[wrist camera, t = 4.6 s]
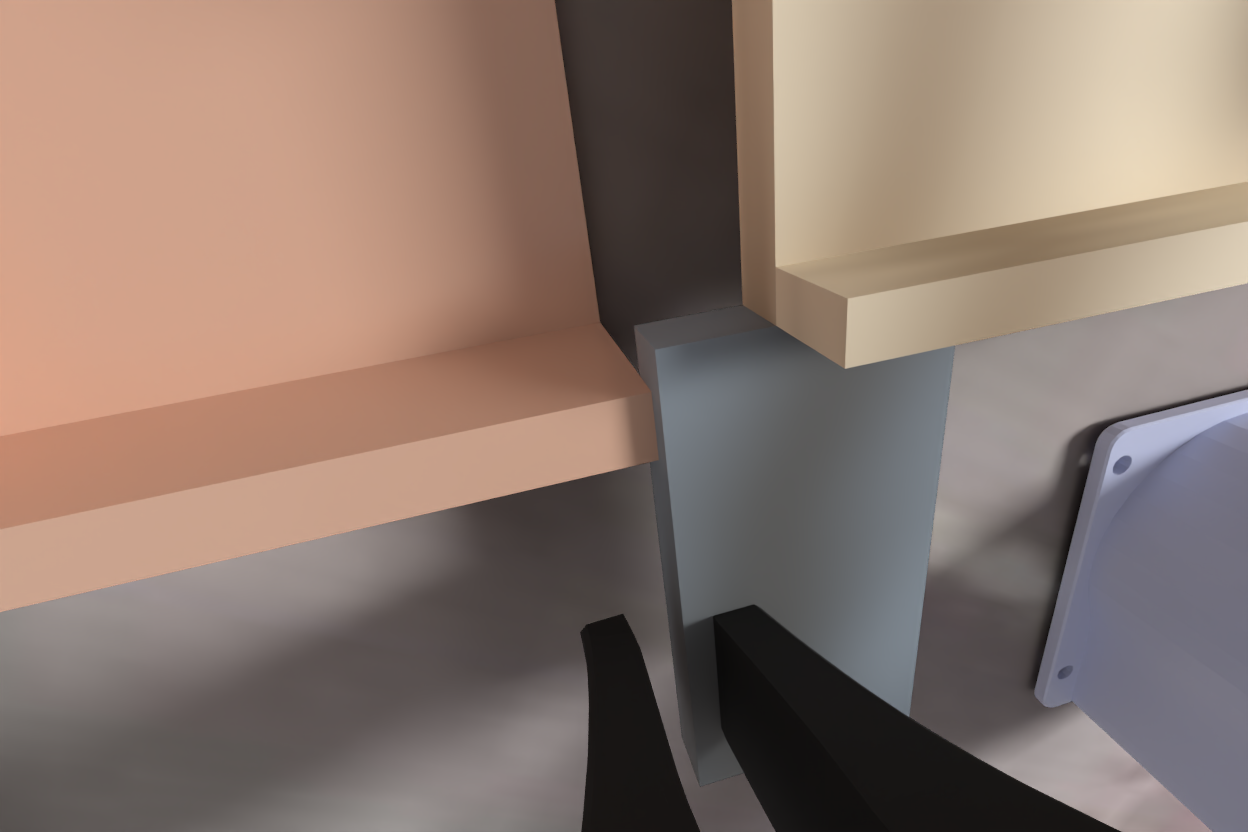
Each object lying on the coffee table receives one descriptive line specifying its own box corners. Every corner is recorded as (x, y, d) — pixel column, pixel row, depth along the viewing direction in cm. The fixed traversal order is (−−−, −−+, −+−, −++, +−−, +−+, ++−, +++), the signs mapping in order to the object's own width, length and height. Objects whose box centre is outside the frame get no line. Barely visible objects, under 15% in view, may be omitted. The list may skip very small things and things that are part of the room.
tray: (604, 370, 11) (659, 459, 8) (-60, 505, 10) (-305, 682, 7) (477, -511, 7) (495, -1051, 4) (-833, -555, 5) (-2873, -1642, 2)
